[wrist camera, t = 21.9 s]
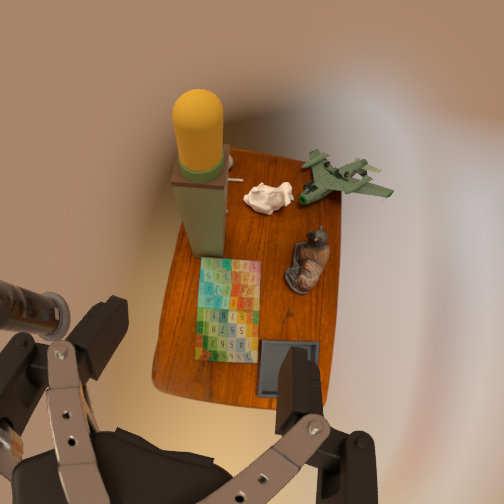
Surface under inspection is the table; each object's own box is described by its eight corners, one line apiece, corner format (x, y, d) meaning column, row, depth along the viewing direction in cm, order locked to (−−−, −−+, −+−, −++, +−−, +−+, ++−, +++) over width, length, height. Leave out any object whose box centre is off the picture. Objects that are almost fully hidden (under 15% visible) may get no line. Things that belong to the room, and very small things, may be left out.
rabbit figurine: (294, 195, 64) (305, 173, 55) (295, 225, 62) (307, 205, 53) (243, 191, 63) (247, 167, 54) (241, 220, 61) (245, 200, 52)
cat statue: (310, 298, 57) (327, 290, 48) (279, 289, 57) (290, 279, 48) (321, 247, 61) (338, 231, 52) (292, 238, 61) (305, 219, 52)
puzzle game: (261, 259, 54) (258, 363, 48) (258, 265, 58) (255, 361, 52) (201, 255, 53) (194, 360, 47) (202, 262, 57) (196, 358, 51)
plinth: (194, 257, 57) (170, 181, 29) (198, 231, 59) (181, 141, 31) (222, 260, 58) (224, 185, 29) (225, 233, 60) (230, 144, 31)
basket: (255, 393, 50) (258, 397, 47) (259, 339, 54) (262, 339, 50) (309, 393, 51) (315, 397, 48) (313, 341, 55) (319, 341, 51)
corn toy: (176, 181, 29) (160, 113, 19) (184, 147, 31) (175, 78, 20) (221, 185, 29) (222, 115, 19) (225, 149, 31) (229, 79, 21)
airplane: (293, 188, 58) (296, 221, 65) (399, 200, 51) (390, 232, 58) (308, 137, 71) (310, 166, 79) (389, 145, 64) (385, 174, 72)
